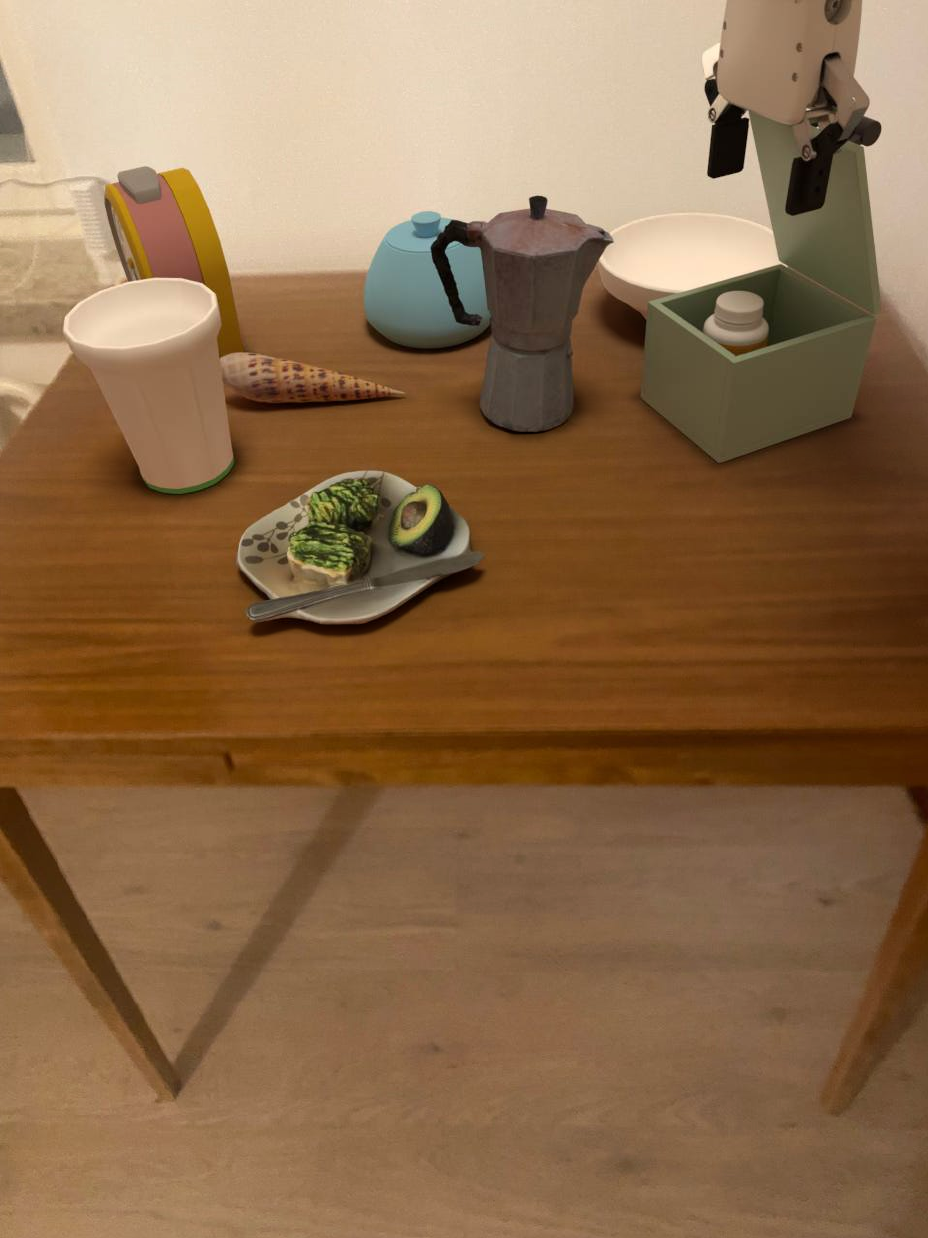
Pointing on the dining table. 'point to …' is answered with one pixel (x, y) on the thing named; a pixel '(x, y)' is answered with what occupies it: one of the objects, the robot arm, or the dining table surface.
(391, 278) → the sugar bowl
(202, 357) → the cup
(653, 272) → the bowl
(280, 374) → the seashell
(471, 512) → the dining table surface
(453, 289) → the moka pot
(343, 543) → the avocado toast plate
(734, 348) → the supplement bottle
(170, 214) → the alarm clock
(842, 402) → the green hinged box
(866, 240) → the box lid
